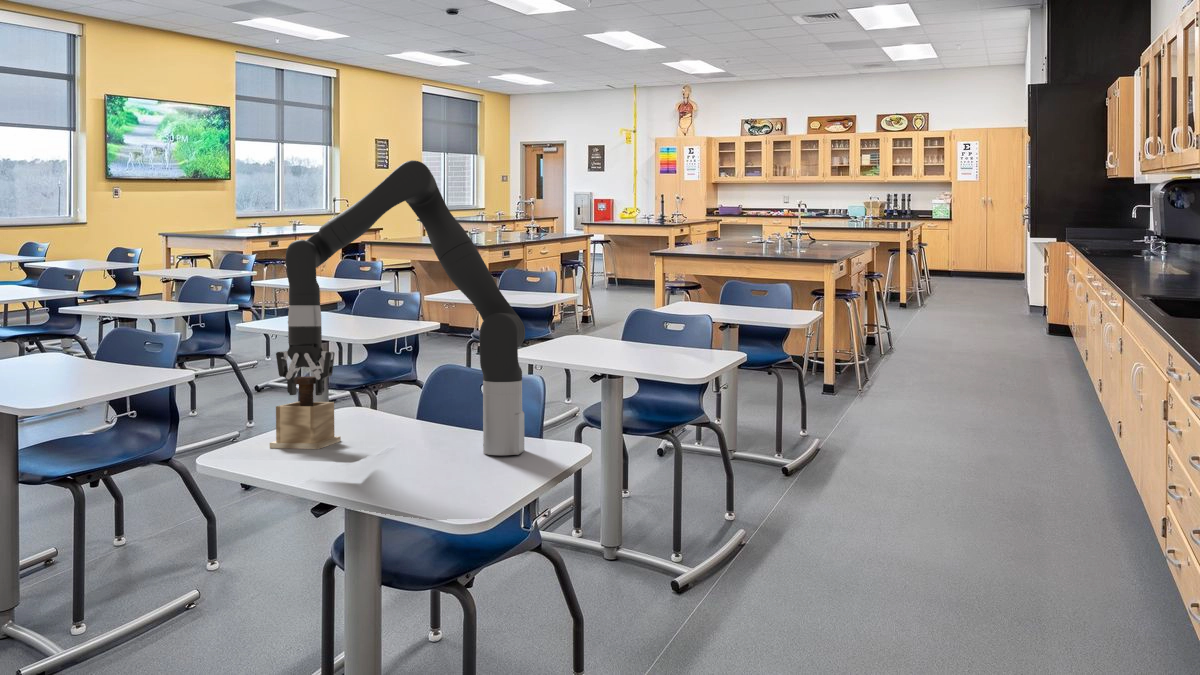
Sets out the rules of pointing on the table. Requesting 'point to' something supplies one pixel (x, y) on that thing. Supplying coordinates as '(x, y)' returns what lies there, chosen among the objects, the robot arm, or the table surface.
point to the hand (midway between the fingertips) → (305, 394)
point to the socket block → (305, 426)
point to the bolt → (305, 389)
